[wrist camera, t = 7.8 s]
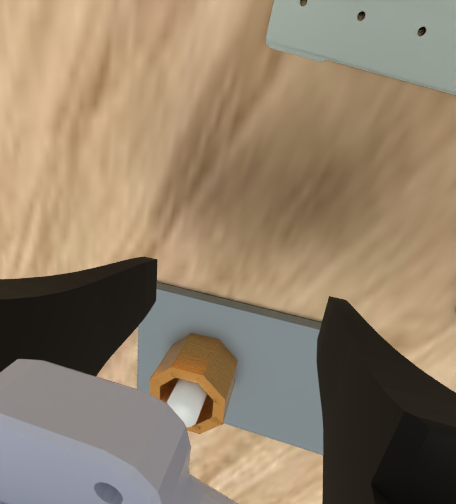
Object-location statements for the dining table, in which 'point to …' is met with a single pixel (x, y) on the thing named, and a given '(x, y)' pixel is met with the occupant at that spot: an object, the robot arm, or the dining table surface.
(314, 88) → the dining table surface
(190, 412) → the stand
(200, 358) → the collar ring
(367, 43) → the metal bracket
